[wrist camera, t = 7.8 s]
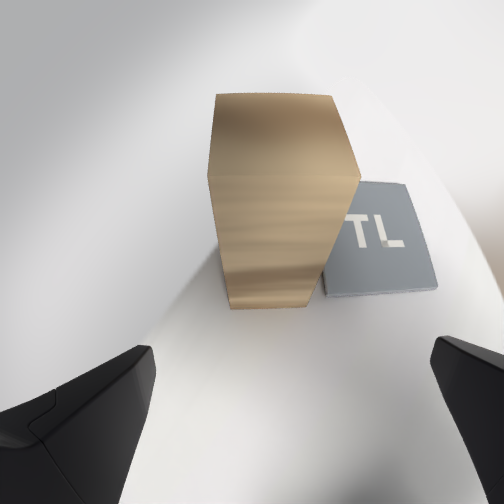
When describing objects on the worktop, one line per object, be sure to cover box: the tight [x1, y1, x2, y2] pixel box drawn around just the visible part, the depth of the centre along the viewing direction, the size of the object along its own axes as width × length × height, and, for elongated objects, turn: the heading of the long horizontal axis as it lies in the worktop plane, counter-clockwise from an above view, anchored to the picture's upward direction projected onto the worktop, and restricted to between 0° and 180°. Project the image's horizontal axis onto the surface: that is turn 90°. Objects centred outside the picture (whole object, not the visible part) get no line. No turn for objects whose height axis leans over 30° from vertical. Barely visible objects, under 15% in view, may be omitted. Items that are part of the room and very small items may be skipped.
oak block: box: [207, 93, 361, 309], centre depth 16 cm, size 5×5×12 cm
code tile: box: [323, 182, 438, 297], centre depth 23 cm, size 10×9×1 cm
